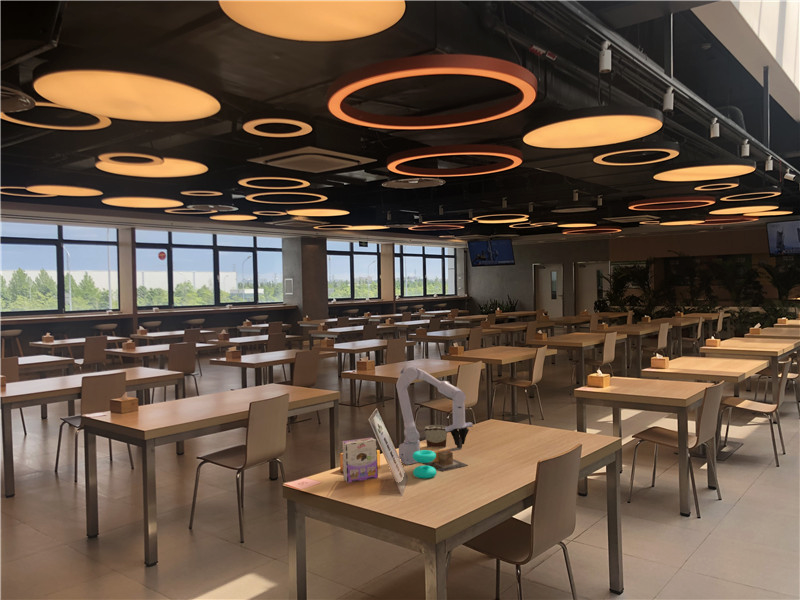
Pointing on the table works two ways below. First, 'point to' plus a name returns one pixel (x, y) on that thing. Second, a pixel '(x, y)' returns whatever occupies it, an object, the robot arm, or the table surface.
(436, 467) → the frame
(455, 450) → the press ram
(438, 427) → the food container
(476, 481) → the table surface
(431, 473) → the donuts
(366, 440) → the candy box
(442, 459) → the block
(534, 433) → the table surface
